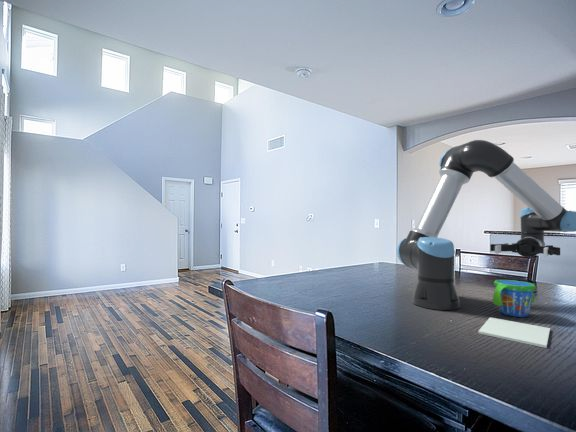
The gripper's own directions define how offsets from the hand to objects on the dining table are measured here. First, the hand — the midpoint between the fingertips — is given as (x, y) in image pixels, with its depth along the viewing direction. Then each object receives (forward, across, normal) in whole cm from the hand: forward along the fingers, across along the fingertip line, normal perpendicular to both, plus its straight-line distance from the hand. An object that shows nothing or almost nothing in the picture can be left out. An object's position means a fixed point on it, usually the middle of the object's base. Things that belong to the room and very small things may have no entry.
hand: (519, 251), depth 108 cm
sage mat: (+29, -3, -19) cm, 35 cm away
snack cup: (+10, 0, -20) cm, 22 cm away
